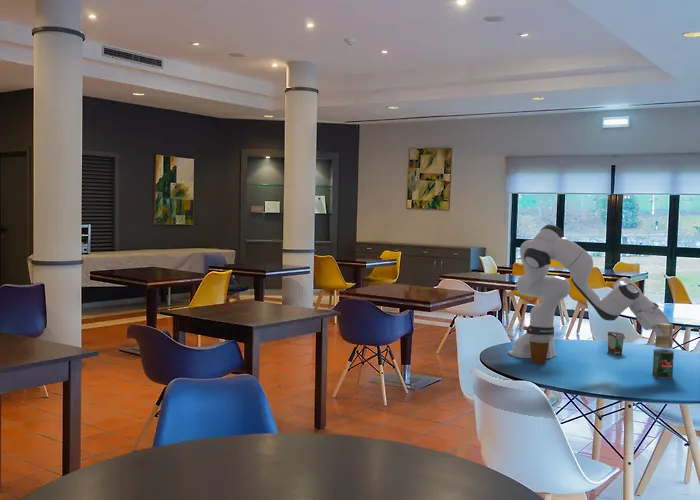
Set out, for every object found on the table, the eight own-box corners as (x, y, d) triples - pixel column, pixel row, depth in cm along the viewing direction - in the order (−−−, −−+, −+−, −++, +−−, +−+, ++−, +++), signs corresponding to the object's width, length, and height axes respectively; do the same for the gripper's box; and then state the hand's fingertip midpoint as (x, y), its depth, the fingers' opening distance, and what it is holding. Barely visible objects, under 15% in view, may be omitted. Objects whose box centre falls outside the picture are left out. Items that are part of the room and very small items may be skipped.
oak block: (667, 348, 291) (668, 325, 291) (655, 346, 295) (656, 323, 294) (672, 347, 295) (673, 324, 294) (660, 345, 298) (661, 322, 298)
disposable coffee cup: (550, 365, 312) (551, 339, 312) (528, 363, 314) (529, 337, 314) (548, 361, 322) (549, 335, 321) (527, 359, 323) (528, 334, 323)
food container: (628, 356, 339) (629, 335, 339) (615, 355, 340) (616, 335, 339) (619, 351, 352) (619, 331, 351) (606, 351, 352) (607, 331, 351)
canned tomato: (666, 379, 289) (667, 353, 289) (648, 375, 296) (649, 350, 295) (676, 377, 294) (677, 351, 294) (658, 373, 300) (659, 348, 300)
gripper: (639, 306, 292) (661, 332, 285) (658, 303, 306) (680, 328, 300) (628, 315, 295) (650, 341, 289) (647, 312, 310) (669, 336, 303)
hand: (665, 334), depth 294 cm, fingers closed on oak block, 5 cm apart
